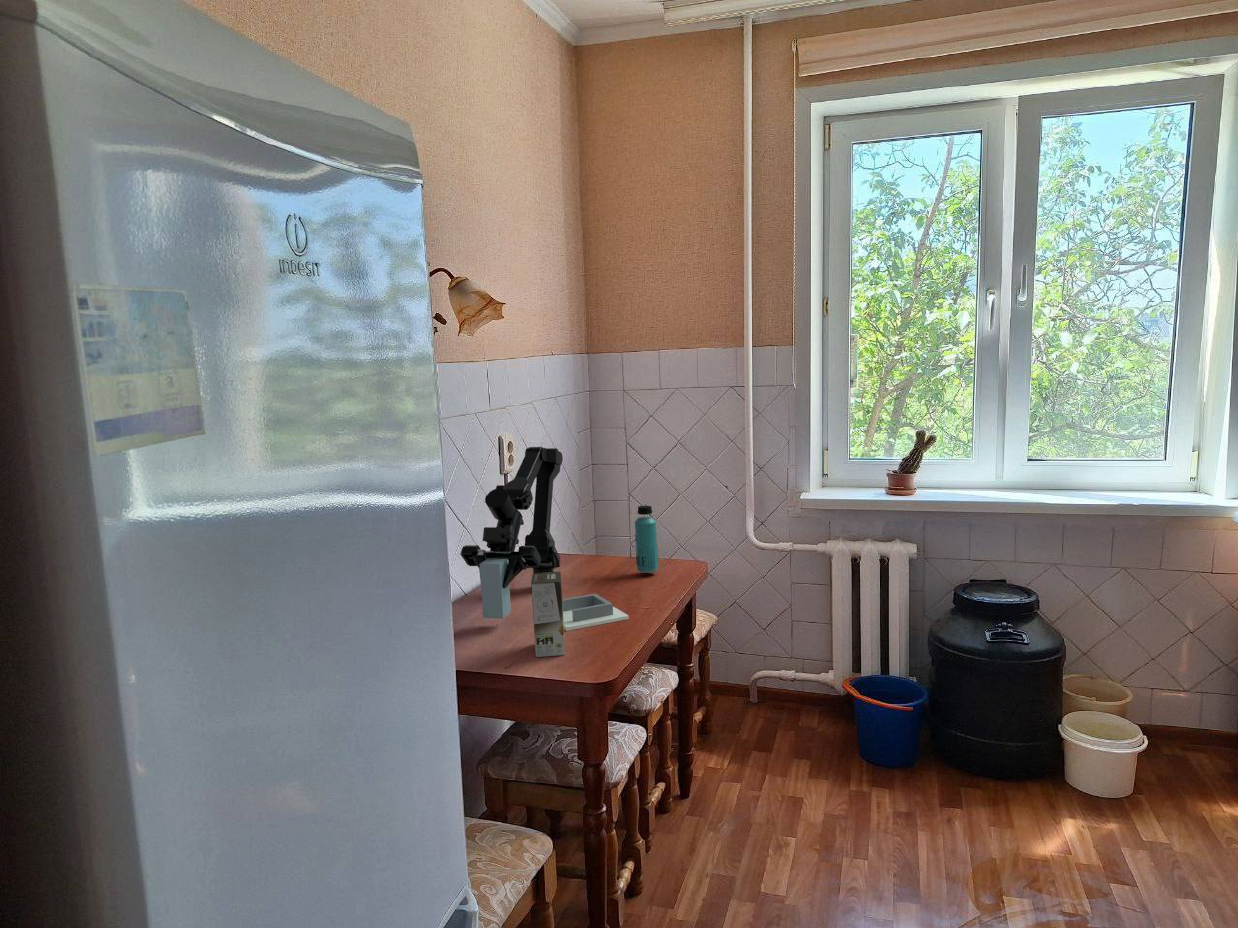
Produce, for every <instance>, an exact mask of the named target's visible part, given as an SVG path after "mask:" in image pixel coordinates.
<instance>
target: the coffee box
mask: <svg viewBox="0 0 1238 928" xmlns="http://www.w3.org/2000/svg"><path fill="white" fill-rule="evenodd" d="M530 586H531V597H532V598H531V599H532V613H533V614H532V615H533V616H532V617H533V630H534V632H533V633H534V648H535V651H534V652H535V657H536V658H540V657H541V658H542V657H544V658H545V657H554V656H555V657H558V656H564V655H565V630H564V617H563V599H564V598H563V588H562V586H563V585H562V575H561V571H554V572H545V573H535V574H533V573H532V575H531V581H530Z"/></svg>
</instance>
